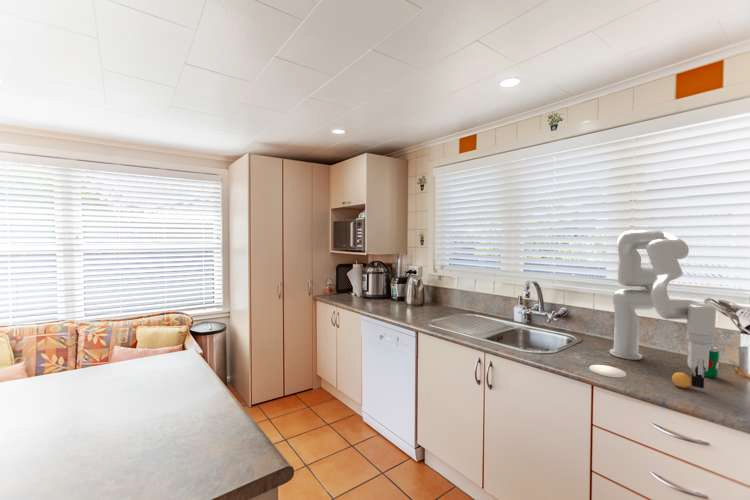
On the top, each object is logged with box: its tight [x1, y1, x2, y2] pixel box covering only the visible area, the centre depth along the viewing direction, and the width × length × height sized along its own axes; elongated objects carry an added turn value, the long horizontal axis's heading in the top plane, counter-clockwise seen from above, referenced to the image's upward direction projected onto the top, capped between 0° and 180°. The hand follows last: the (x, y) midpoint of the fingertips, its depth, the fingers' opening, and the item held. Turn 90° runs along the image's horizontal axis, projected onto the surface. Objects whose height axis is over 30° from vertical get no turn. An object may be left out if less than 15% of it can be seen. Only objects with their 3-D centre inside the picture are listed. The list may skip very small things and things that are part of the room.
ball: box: [671, 371, 692, 388], centre depth 130 cm, size 6×6×6 cm
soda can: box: [704, 345, 720, 379], centre depth 140 cm, size 5×5×12 cm
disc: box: [588, 364, 627, 379], centre depth 145 cm, size 13×13×1 cm
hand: (697, 386), depth 128 cm, fingers closed
